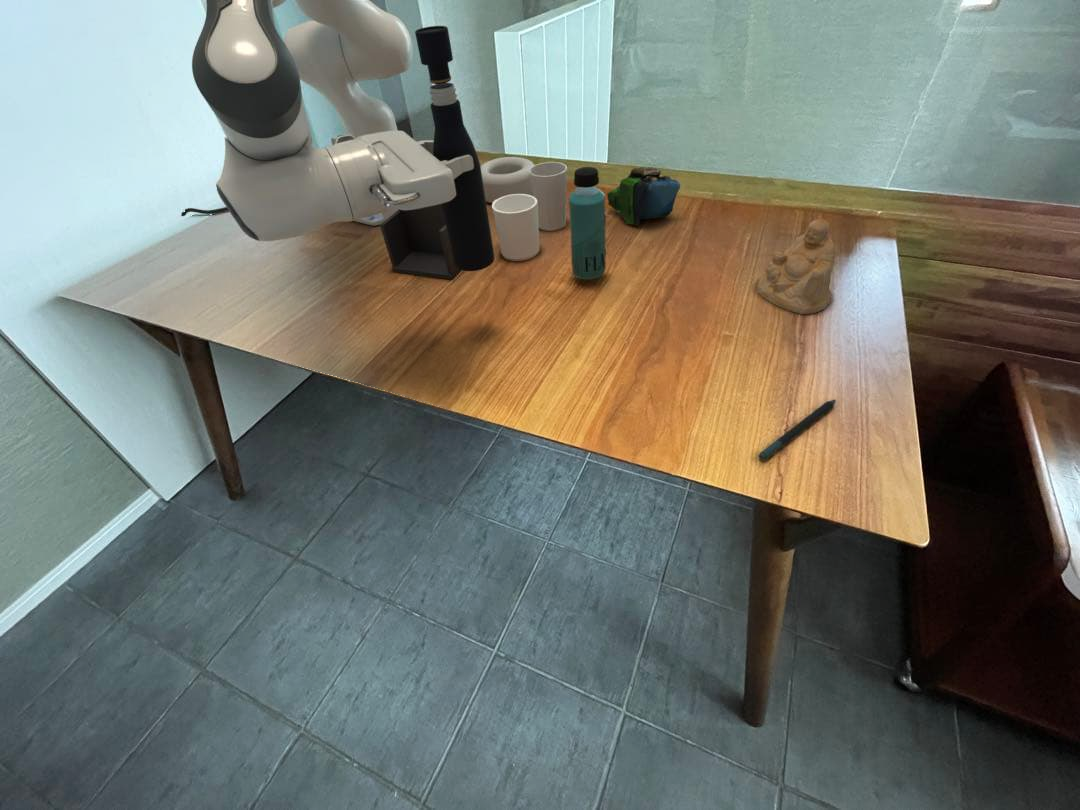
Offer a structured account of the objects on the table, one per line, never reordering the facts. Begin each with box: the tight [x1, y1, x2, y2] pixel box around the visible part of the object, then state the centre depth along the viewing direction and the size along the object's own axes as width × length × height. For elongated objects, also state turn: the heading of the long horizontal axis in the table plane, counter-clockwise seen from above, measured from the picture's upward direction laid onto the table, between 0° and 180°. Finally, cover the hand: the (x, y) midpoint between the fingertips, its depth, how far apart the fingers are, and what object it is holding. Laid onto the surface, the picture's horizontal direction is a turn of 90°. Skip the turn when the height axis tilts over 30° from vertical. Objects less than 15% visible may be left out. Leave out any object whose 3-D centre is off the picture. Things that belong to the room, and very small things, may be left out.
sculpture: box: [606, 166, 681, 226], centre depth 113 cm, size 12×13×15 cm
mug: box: [491, 194, 540, 262], centre depth 107 cm, size 11×9×10 cm
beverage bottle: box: [568, 166, 607, 280], centre depth 93 cm, size 6×7×20 cm
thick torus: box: [480, 156, 535, 204], centre depth 130 cm, size 15×15×7 cm
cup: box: [529, 161, 568, 232], centre depth 113 cm, size 8×8×12 cm
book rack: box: [379, 204, 462, 281], centre depth 104 cm, size 14×8×12 cm, turn 68°
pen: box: [758, 399, 837, 461], centre depth 68 cm, size 1×16×1 cm, turn 126°
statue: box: [756, 218, 836, 315], centre depth 87 cm, size 12×14×10 cm
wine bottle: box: [414, 25, 495, 272], centre depth 72 cm, size 6×6×30 cm
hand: (460, 152), depth 71 cm, fingers closed on wine bottle, 6 cm apart
